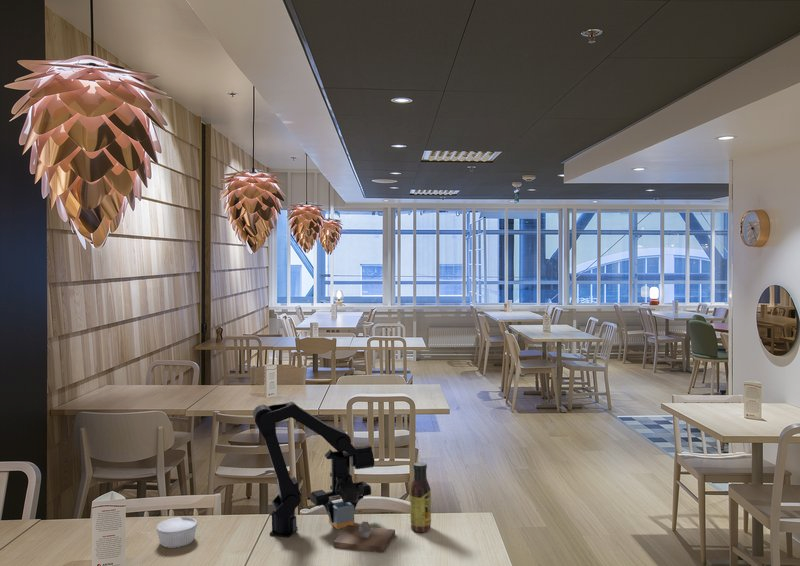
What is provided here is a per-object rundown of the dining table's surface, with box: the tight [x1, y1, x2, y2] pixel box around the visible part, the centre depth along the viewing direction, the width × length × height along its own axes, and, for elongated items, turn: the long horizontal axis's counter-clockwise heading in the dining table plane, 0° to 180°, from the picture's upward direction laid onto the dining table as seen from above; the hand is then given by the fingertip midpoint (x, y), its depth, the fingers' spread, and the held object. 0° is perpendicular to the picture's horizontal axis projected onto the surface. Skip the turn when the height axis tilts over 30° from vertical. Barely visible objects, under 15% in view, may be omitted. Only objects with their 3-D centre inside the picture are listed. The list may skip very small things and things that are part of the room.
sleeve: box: [328, 500, 355, 530], centre depth 198 cm, size 6×6×6 cm
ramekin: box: [156, 516, 198, 549], centre depth 187 cm, size 11×11×5 cm
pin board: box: [333, 521, 396, 553], centre depth 185 cm, size 15×12×5 cm
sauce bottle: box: [409, 461, 432, 533], centre depth 193 cm, size 6×6×20 cm
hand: (341, 520), depth 198 cm, fingers closed on sleeve, 6 cm apart
